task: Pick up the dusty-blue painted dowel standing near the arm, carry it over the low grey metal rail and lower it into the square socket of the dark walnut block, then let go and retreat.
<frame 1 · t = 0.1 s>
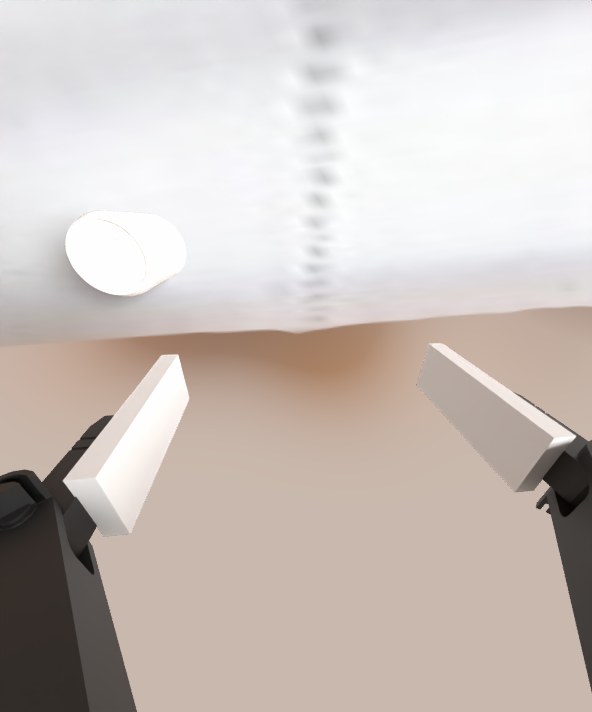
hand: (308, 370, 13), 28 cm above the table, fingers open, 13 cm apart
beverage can: (157, 247, 34), on the table
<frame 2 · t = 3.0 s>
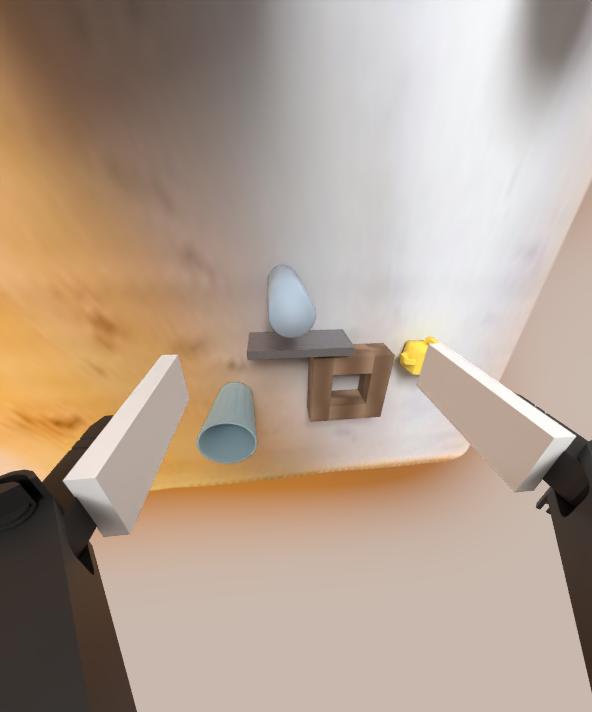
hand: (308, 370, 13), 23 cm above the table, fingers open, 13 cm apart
peg: (282, 280, 33), on the table
teapot: (416, 346, 40), on the table
socket block: (343, 376, 41), on the table
rail: (296, 334, 37), on the table
cup: (236, 394, 41), on the table
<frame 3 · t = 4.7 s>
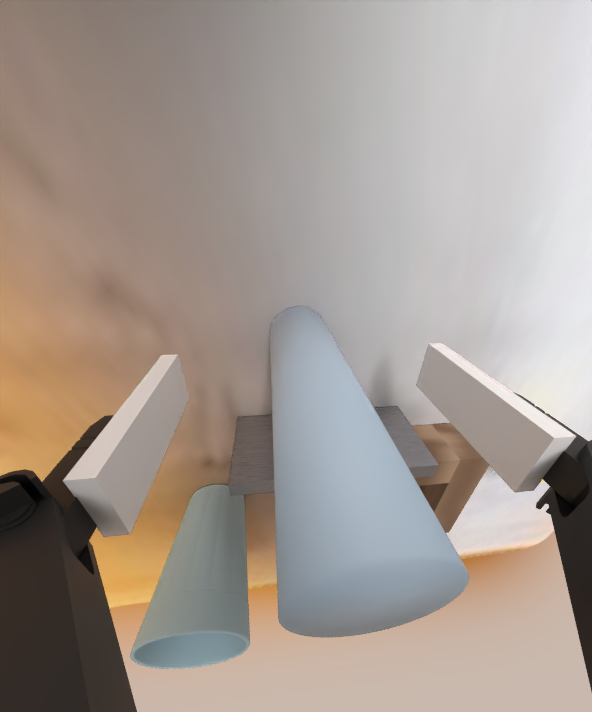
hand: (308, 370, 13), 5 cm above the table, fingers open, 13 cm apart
peg: (298, 333, 17), on the table
socket block: (389, 467, 26), on the table
rail: (319, 416, 21), on the table
cup: (218, 498, 26), on the table
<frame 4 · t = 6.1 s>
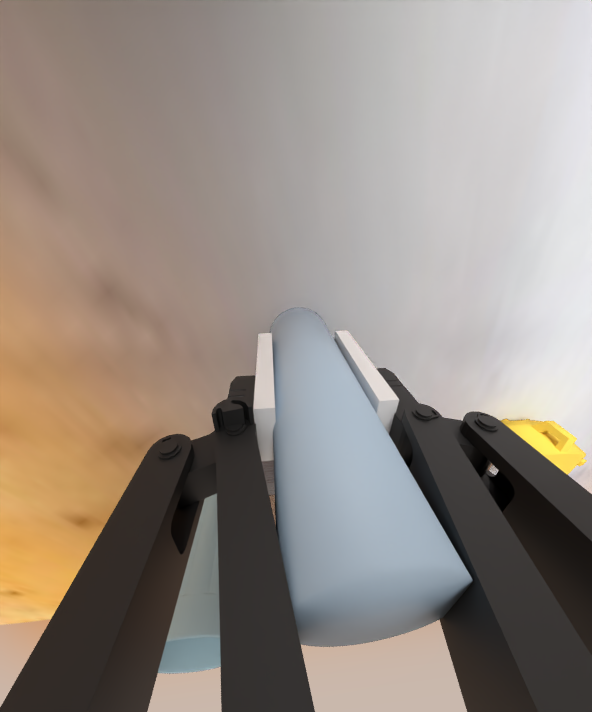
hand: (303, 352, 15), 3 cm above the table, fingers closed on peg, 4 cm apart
peg: (298, 335, 17), on the table, touching gripper
teapot: (510, 425, 25), on the table
rail: (320, 418, 21), on the table
cup: (218, 500, 26), on the table
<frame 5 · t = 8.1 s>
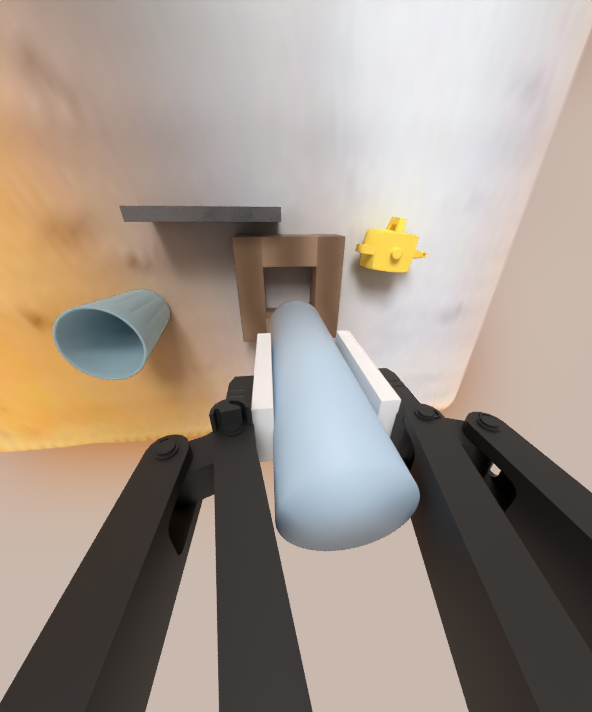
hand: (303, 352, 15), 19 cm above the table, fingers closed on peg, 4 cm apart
peg: (295, 325, 19), point 15 cm above the table, touching gripper
teapot: (380, 243, 31), on the table
socket block: (287, 285, 32), on the table
rail: (215, 214, 27), on the table
cup: (148, 309, 32), on the table
when the fingers open (5 cm above the table, at t = 10.6 s): peg stays where it is, resting in socket block.
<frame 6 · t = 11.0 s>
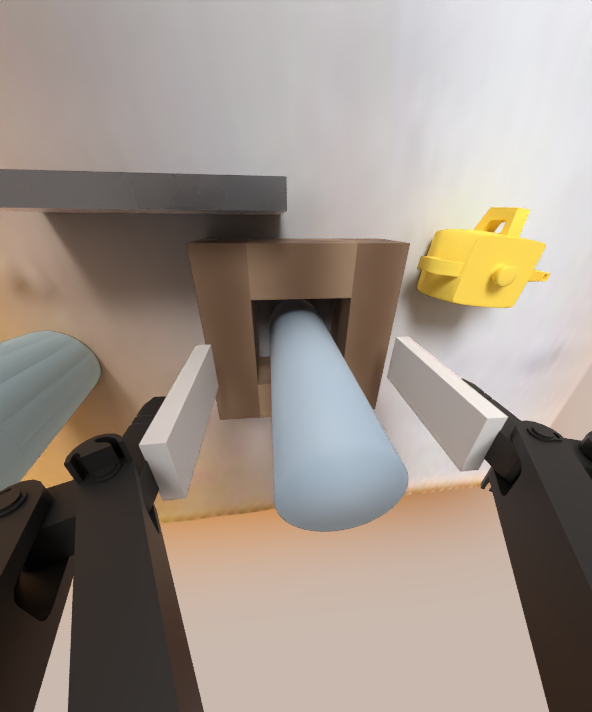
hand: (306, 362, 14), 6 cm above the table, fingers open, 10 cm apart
peg: (294, 323, 19), resting in socket block
teapot: (453, 254, 18), on the table
socket block: (294, 322, 19), on the table
rail: (164, 202, 15), on the table
cup: (63, 361, 19), on the table
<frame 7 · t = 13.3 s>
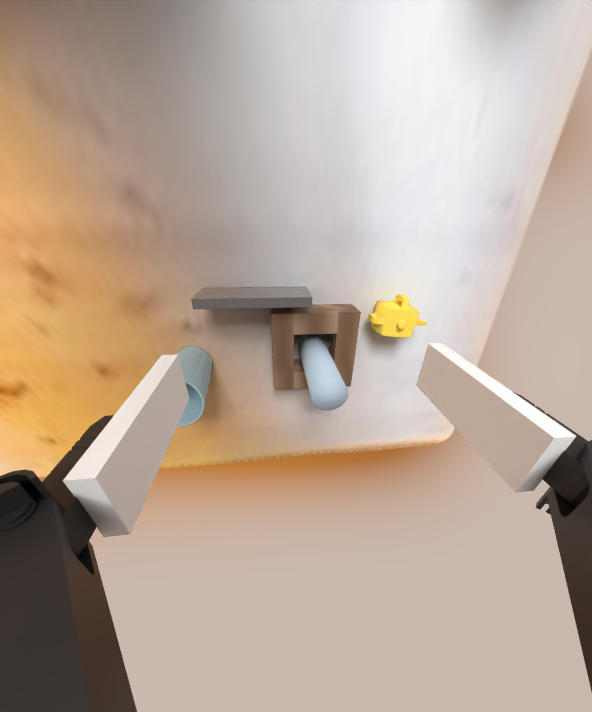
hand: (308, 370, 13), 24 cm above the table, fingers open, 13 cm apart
peg: (310, 342, 38), resting in socket block
teapot: (388, 309, 38), on the table
socket block: (310, 342, 38), on the table
rail: (255, 291, 34), on the table
cup: (194, 361, 38), on the table
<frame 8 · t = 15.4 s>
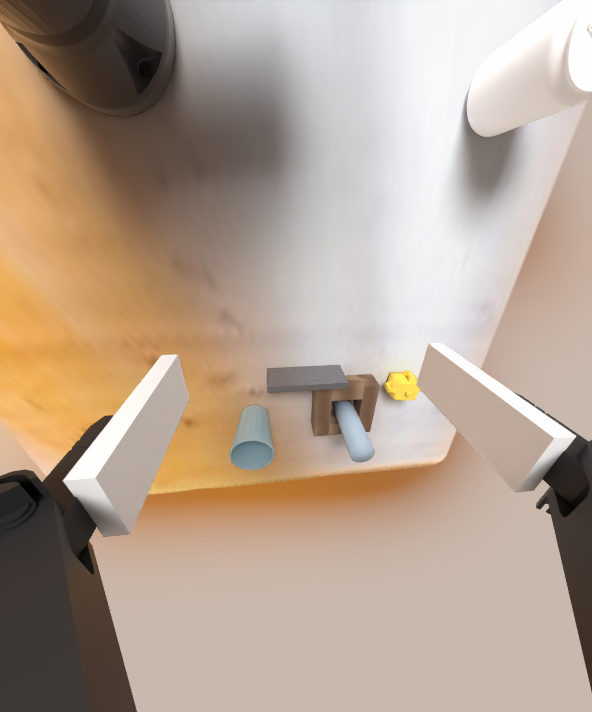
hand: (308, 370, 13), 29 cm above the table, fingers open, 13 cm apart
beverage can: (493, 97, 31), on the table
peg: (340, 399, 52), resting in socket block
teapot: (398, 376, 51), on the table
socket block: (340, 399, 52), on the table
rail: (303, 369, 47), on the table
cup: (254, 414, 51), on the table
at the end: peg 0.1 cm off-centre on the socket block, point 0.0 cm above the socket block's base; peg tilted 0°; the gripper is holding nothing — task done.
